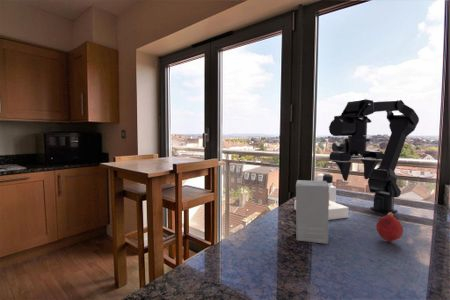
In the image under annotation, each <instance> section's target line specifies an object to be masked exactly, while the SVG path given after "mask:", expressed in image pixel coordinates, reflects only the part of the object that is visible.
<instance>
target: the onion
mask: <svg viewBox="0 0 450 300" xmlns="http://www.w3.org/2000/svg"><path fill="white" fill-rule="evenodd" d="M394 215H395V214H394V212H392V213H386V215H384V216H382V217H381V218H379V219H378V220H377V222H376V226H375V228H376V231H377V232H376V233H378V235H379V236H380V238H382V239H383V240H385V241H386V242H387V243H392V242H394V241H398V240H399V239H400V238H401V237H402V236H403V232H404V228H403V225H402V223H401V222H400V220H398V218H396V217H394Z"/></svg>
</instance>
